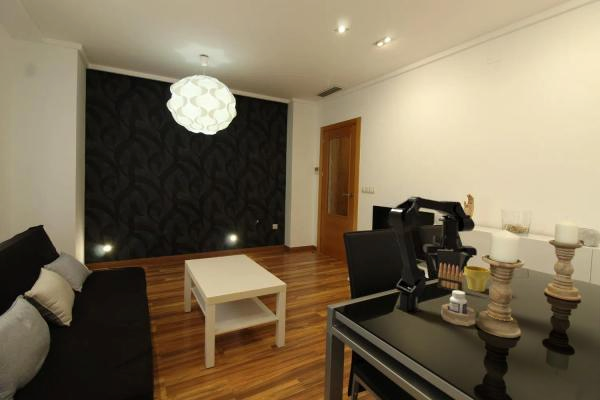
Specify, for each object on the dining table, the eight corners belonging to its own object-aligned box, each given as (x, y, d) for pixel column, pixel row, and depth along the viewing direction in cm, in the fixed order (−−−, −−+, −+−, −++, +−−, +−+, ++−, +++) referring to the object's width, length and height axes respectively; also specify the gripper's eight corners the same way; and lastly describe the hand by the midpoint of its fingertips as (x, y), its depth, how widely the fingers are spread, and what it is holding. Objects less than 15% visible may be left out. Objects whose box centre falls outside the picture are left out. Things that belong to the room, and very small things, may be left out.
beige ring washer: (463, 327, 100) (463, 317, 100) (436, 316, 108) (436, 306, 108) (479, 321, 105) (480, 311, 105) (453, 311, 113) (453, 301, 113)
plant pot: (458, 287, 141) (459, 266, 141) (472, 284, 145) (473, 264, 145) (479, 294, 132) (480, 272, 131) (494, 291, 136) (495, 270, 136)
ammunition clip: (463, 292, 134) (464, 266, 133) (462, 293, 132) (463, 267, 132) (438, 286, 141) (439, 261, 141) (437, 287, 140) (438, 262, 139)
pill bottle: (462, 316, 109) (463, 289, 109) (468, 322, 104) (470, 295, 103) (446, 315, 109) (447, 289, 109) (452, 321, 104) (453, 294, 104)
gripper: (466, 230, 127) (465, 266, 128) (420, 228, 129) (419, 264, 130) (478, 234, 116) (476, 274, 117) (427, 232, 118) (426, 271, 119)
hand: (448, 270), depth 121 cm, fingers open, 9 cm apart
